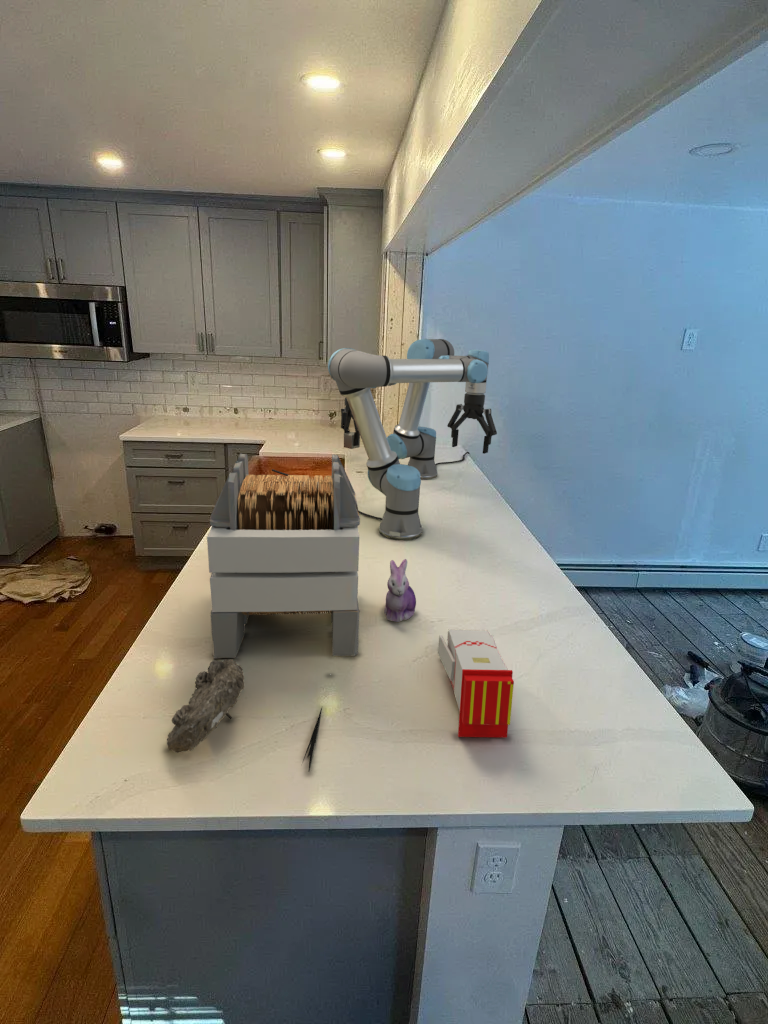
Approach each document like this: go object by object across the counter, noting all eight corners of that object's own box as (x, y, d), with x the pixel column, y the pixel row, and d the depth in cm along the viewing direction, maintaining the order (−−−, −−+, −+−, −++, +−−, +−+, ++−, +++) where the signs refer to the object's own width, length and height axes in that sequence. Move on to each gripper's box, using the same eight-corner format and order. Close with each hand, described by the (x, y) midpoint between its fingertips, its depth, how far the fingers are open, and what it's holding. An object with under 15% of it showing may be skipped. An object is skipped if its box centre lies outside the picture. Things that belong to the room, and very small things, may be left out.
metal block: (343, 447, 283) (343, 433, 280) (351, 445, 287) (352, 431, 285) (351, 449, 279) (351, 435, 277) (359, 447, 284) (360, 433, 281)
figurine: (392, 627, 141) (395, 572, 136) (374, 608, 149) (376, 556, 144) (425, 619, 145) (429, 566, 140) (405, 601, 154) (408, 550, 149)
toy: (488, 613, 130) (523, 677, 101) (484, 667, 133) (517, 744, 104) (435, 612, 130) (455, 676, 101) (432, 666, 133) (451, 743, 103)
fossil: (192, 660, 117) (244, 628, 112) (224, 691, 120) (276, 661, 115) (142, 746, 98) (202, 712, 93) (182, 779, 101) (242, 748, 96)
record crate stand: (232, 588, 156) (224, 444, 142) (351, 587, 160) (354, 446, 146) (210, 660, 125) (198, 483, 111) (359, 656, 128) (364, 485, 115)
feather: (331, 679, 122) (336, 673, 122) (307, 777, 96) (313, 769, 95) (324, 675, 122) (329, 669, 121) (298, 772, 95) (304, 764, 95)
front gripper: (441, 390, 214) (437, 445, 221) (500, 398, 199) (493, 457, 206) (452, 388, 219) (447, 442, 227) (510, 396, 205) (503, 454, 212)
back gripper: (333, 395, 278) (333, 442, 286) (361, 400, 267) (360, 448, 274) (344, 394, 283) (343, 440, 291) (371, 399, 272) (370, 446, 280)
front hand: (469, 449), depth 216 cm, fingers open, 13 cm apart
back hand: (351, 444), depth 283 cm, fingers closed on metal block, 5 cm apart
